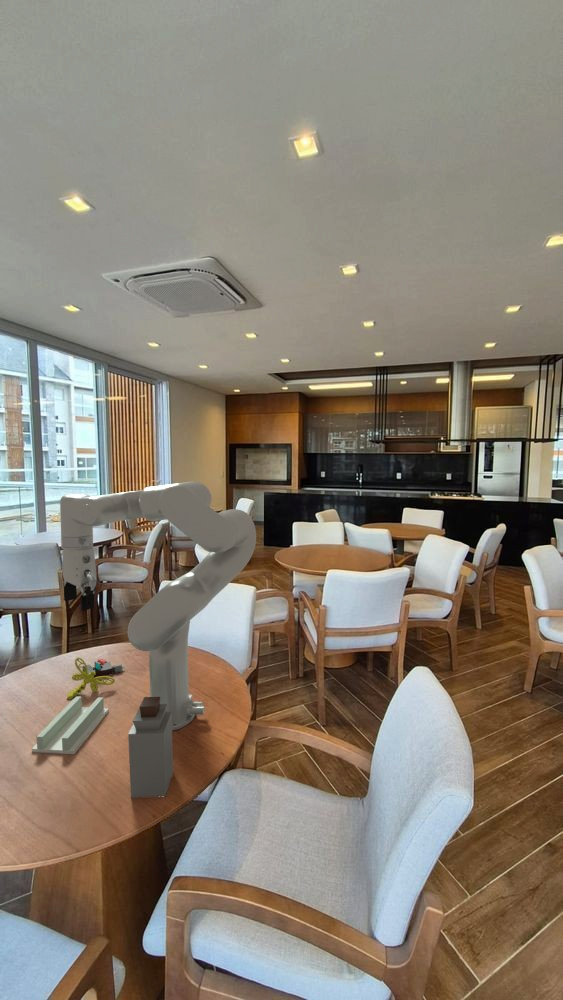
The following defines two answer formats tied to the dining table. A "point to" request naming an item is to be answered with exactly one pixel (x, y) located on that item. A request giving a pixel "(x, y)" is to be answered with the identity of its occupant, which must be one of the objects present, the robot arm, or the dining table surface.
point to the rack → (71, 727)
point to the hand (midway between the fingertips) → (78, 604)
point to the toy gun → (103, 668)
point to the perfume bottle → (151, 749)
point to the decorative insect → (87, 679)
